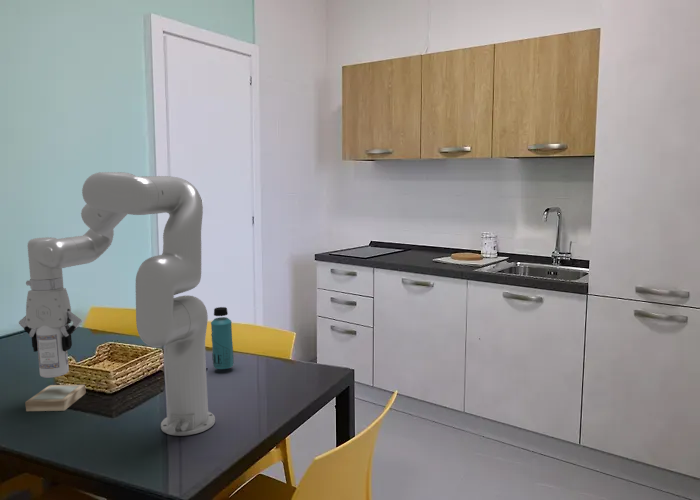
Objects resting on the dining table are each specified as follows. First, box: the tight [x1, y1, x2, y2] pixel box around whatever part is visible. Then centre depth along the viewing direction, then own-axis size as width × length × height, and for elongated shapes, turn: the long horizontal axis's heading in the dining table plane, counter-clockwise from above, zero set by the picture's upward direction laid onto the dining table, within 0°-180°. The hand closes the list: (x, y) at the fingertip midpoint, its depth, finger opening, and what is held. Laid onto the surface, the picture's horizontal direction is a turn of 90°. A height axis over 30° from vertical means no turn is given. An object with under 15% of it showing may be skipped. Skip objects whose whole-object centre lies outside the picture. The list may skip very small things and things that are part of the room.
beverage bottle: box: [210, 306, 235, 370], centre depth 174 cm, size 6×7×20 cm
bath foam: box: [36, 326, 70, 379], centre depth 150 cm, size 7×7×20 cm
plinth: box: [24, 384, 87, 412], centre depth 152 cm, size 12×10×3 cm
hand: (52, 349), depth 150 cm, fingers closed on bath foam, 7 cm apart
